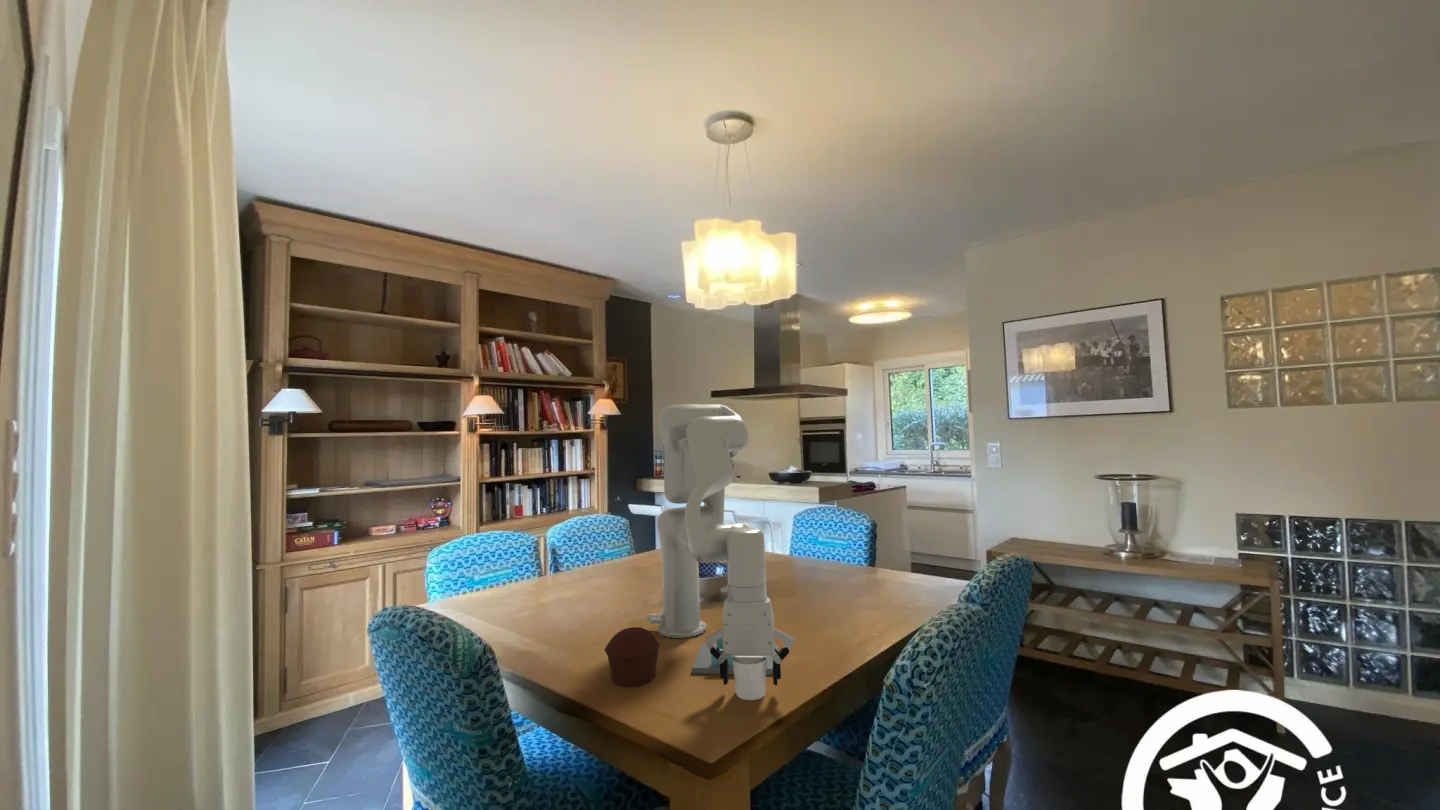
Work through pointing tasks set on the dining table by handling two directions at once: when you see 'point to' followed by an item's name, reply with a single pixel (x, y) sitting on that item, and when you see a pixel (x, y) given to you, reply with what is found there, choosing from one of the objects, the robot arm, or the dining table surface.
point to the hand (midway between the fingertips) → (750, 682)
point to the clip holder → (710, 664)
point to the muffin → (632, 657)
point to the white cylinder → (750, 676)
